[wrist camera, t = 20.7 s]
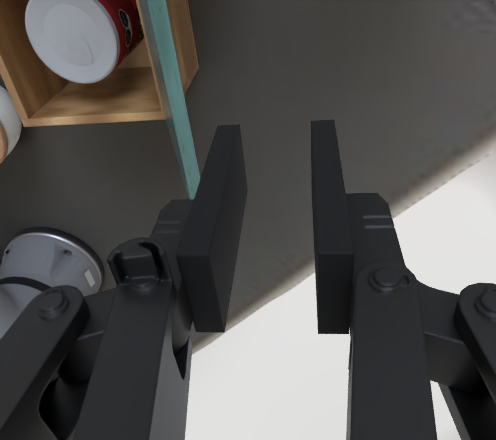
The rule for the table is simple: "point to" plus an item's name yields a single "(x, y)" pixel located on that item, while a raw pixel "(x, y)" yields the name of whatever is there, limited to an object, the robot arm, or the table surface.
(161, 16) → the chest lid
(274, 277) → the table surface
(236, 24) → the table surface
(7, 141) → the trinket box
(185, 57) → the chest
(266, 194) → the table surface
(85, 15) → the canned food
